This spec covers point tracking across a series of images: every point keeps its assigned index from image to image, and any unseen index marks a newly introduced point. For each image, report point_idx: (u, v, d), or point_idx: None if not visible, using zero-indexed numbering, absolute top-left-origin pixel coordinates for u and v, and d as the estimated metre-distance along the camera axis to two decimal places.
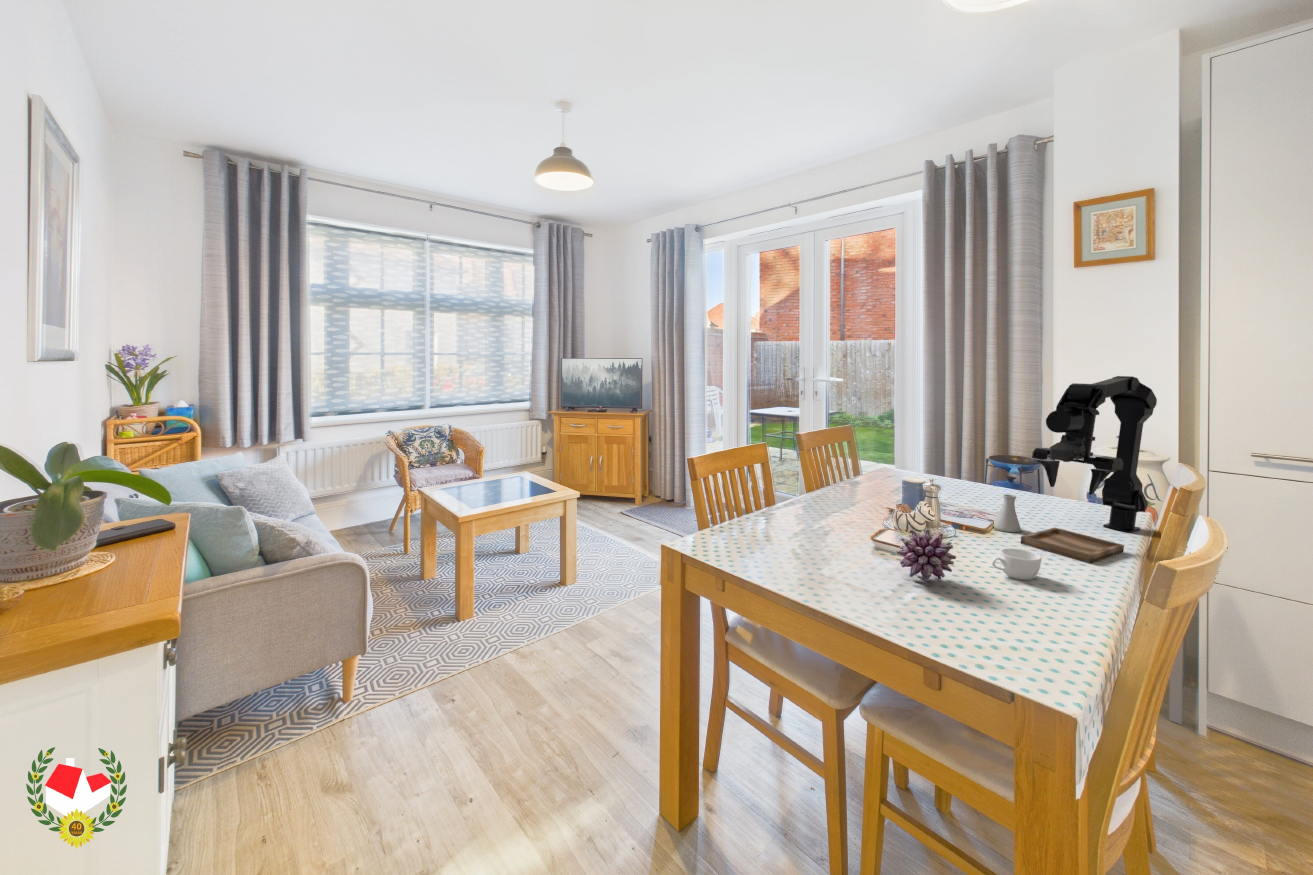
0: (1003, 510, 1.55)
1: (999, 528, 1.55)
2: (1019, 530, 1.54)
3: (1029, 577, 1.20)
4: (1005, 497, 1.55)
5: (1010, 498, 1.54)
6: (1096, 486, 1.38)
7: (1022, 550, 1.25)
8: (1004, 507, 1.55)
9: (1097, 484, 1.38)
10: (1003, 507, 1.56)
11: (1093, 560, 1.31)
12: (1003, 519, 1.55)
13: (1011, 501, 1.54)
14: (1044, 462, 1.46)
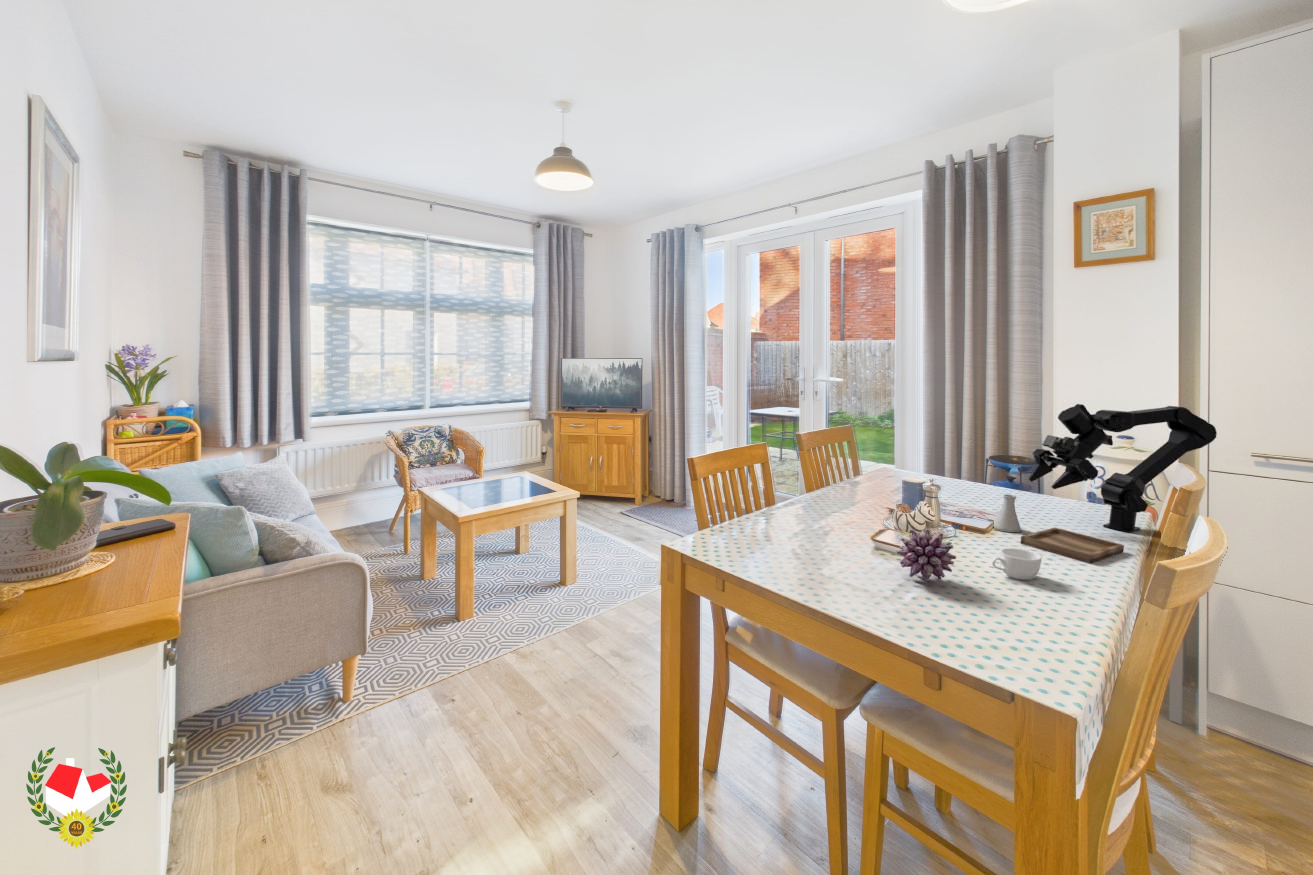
0: (1003, 510, 1.55)
1: (999, 528, 1.55)
2: (1019, 530, 1.54)
3: (1029, 577, 1.20)
4: (1005, 497, 1.55)
5: (1010, 498, 1.54)
6: (1061, 483, 1.49)
7: (1022, 550, 1.25)
8: (1004, 507, 1.55)
9: (1063, 481, 1.49)
10: (1003, 507, 1.56)
11: (1093, 560, 1.31)
12: (1003, 519, 1.55)
13: (1011, 501, 1.54)
14: (1038, 457, 1.59)
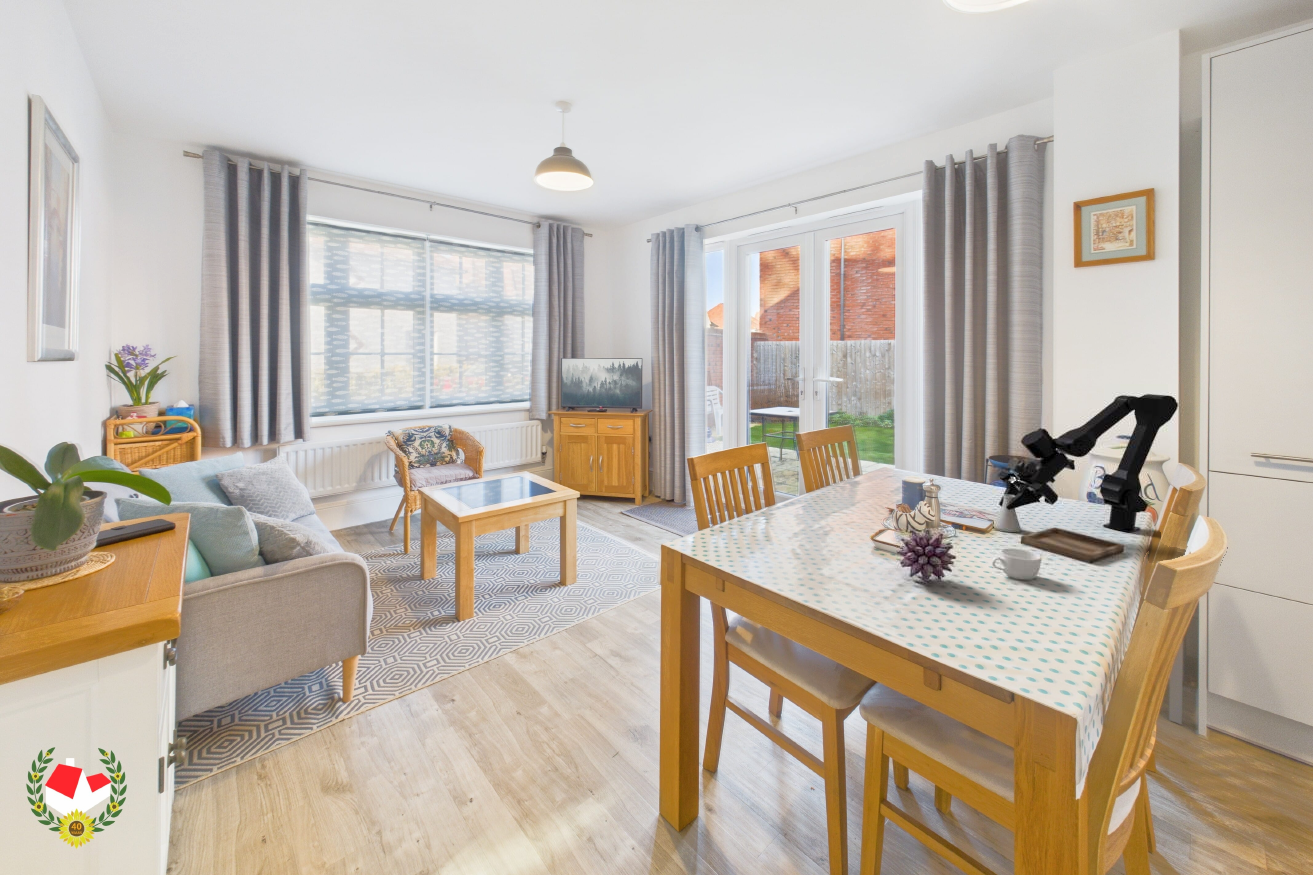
0: (1003, 510, 1.55)
1: (999, 528, 1.55)
2: (1019, 530, 1.54)
3: (1029, 577, 1.20)
4: (1005, 497, 1.55)
5: (1010, 498, 1.54)
6: (1015, 504, 1.53)
7: (1022, 550, 1.25)
8: (1004, 507, 1.55)
9: (1017, 502, 1.53)
10: (1003, 507, 1.56)
11: (1093, 560, 1.31)
12: (1003, 519, 1.55)
13: None
14: (1008, 482, 1.57)
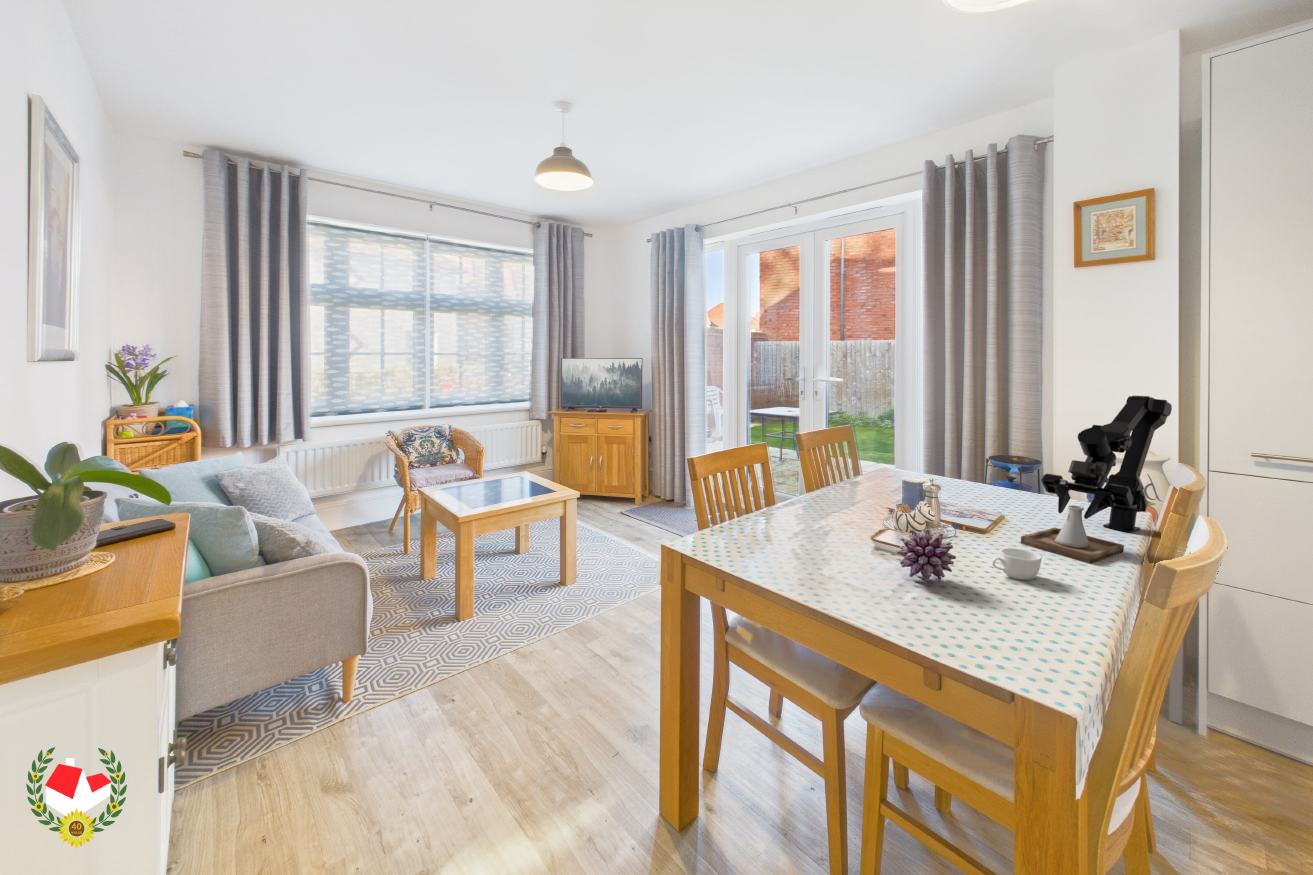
0: (1072, 524, 1.39)
1: (1073, 545, 1.38)
2: (1088, 543, 1.40)
3: (1029, 577, 1.20)
4: (1075, 509, 1.39)
5: (1080, 510, 1.38)
6: (1093, 511, 1.37)
7: (1022, 550, 1.25)
8: (1073, 520, 1.39)
9: (1094, 510, 1.37)
10: (1072, 520, 1.39)
11: (1093, 560, 1.31)
12: (1076, 534, 1.38)
13: (1080, 513, 1.39)
14: (1061, 485, 1.43)
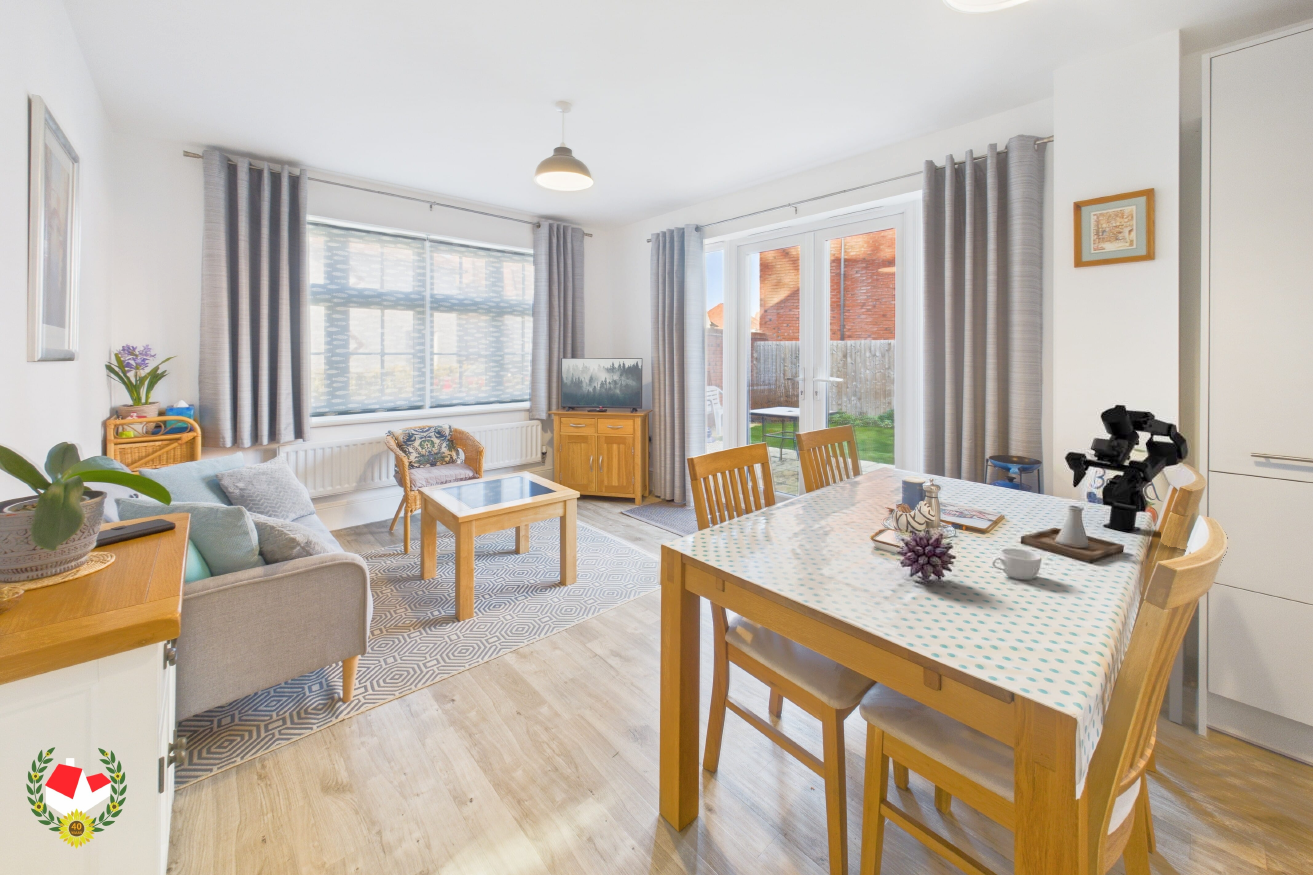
0: (1072, 524, 1.39)
1: (1073, 545, 1.38)
2: (1088, 543, 1.40)
3: (1029, 577, 1.20)
4: (1075, 509, 1.39)
5: (1080, 510, 1.38)
6: (1121, 488, 1.42)
7: (1022, 550, 1.25)
8: (1073, 520, 1.39)
9: (1123, 486, 1.42)
10: (1072, 520, 1.39)
11: (1093, 560, 1.31)
12: (1076, 534, 1.38)
13: (1080, 513, 1.39)
14: (1077, 461, 1.52)
